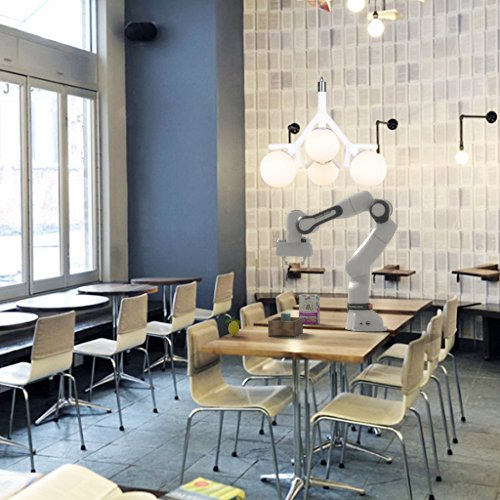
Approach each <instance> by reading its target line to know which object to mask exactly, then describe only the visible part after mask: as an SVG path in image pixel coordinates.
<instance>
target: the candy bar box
mask: <svg viewBox="0 0 500 500" xmlns="http://www.w3.org/2000/svg"><path fill="white" fill-rule="evenodd" d="M320 299H321V298H320V294H299V295H298V317H303V325H319V324H321V307H320V306H321V302H320V301H321V300H320Z"/></svg>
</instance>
